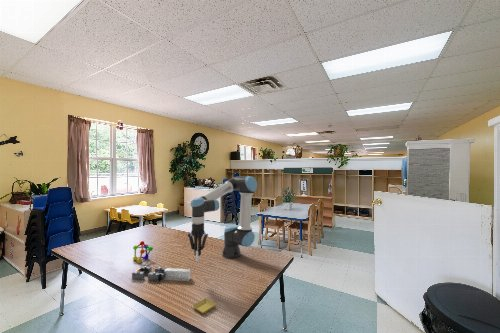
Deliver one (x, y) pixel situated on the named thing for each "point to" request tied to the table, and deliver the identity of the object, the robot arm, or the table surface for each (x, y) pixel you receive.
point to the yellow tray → (204, 305)
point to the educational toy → (142, 252)
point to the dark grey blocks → (149, 273)
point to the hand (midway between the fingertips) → (197, 260)
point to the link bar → (177, 274)
